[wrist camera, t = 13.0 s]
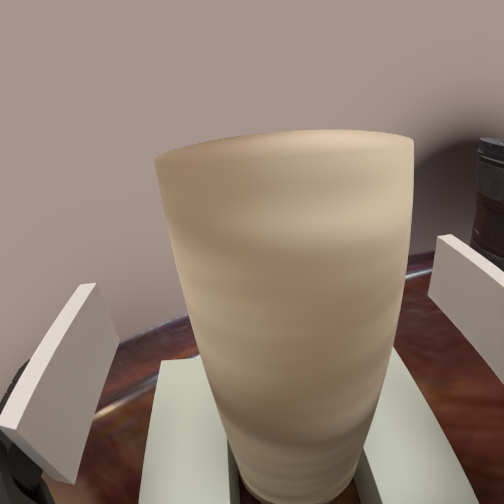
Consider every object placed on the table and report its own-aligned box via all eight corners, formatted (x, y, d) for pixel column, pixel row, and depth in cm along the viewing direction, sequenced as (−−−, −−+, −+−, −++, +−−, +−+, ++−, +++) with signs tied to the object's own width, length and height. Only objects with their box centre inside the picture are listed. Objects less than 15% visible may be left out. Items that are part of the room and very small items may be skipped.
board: (374, 365, 20) (381, 328, 18) (462, 563, 5) (498, 549, 4) (176, 395, 19) (161, 360, 18) (163, 619, 5) (131, 621, 3)
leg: (333, 445, 15) (354, 127, 8) (353, 517, 10) (476, 153, 3) (246, 460, 14) (175, 145, 8) (254, 535, 10) (110, 184, 3)
